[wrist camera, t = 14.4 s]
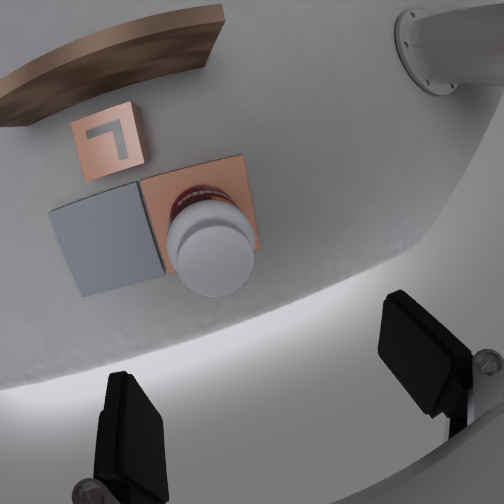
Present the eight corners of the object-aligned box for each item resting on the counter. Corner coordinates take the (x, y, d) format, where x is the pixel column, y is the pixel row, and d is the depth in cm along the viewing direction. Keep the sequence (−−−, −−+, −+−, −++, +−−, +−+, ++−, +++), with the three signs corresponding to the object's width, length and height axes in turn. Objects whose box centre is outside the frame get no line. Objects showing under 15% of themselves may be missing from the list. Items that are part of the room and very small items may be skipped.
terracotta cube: (138, 107, 23) (130, 100, 18) (150, 158, 25) (144, 163, 20) (88, 124, 22) (70, 122, 17) (100, 174, 24) (85, 183, 19)
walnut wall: (202, 55, 22) (221, 3, 11) (204, 66, 23) (225, 20, 12) (25, 115, 19) (-49, 115, 9) (27, 126, 20) (-47, 131, 9)
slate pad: (137, 180, 25) (136, 182, 24) (164, 271, 29) (164, 275, 29) (51, 210, 24) (48, 212, 23) (84, 293, 28) (82, 297, 27)
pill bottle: (236, 182, 27) (272, 212, 17) (234, 245, 29) (264, 304, 19) (168, 183, 25) (162, 214, 15) (170, 247, 28) (168, 311, 18)
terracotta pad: (241, 154, 27) (242, 154, 26) (258, 246, 31) (260, 248, 30) (141, 179, 25) (140, 181, 25) (168, 270, 29) (168, 273, 29)
